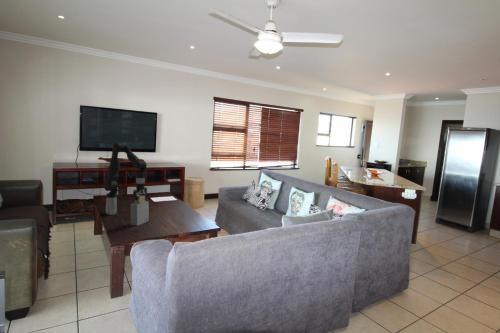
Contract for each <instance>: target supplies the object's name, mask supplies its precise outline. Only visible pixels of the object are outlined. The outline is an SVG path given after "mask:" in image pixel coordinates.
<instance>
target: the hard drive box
mask: <svg viewBox="0 0 500 333" xmlns="http://www.w3.org/2000/svg"><path fill="white" fill-rule="evenodd" d="M149 205H150V204H149V201H148V200H145V202H144V203H141V204H139V203H135V202H133V203H130V225H131V226H135V227H138V226H141V225H143V224H145V223H147V222H149V220H150V219H149V217H150V216H149V214H150V213H149V212H150V211H149V208H150V207H149Z"/></svg>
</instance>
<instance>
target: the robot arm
mask: <svg viewBox="0 0 500 333" xmlns="http://www.w3.org/2000/svg"><path fill="white" fill-rule="evenodd" d="M111 150H112V151H111V157H110V162H109V167H108V172H107V175H106V179H105V182H104V185H103V187H104V190H105V191H106V192H108V193H106V197H105V198H106V199H105V201H106V203H105V214H106V215H108V216H109V215H111V216H113V215H116V214H117V213H118V212H117V210H118V209H117V202H118V201H117V200H118V199H117V197H118V196H117V195H118V189H119V188H118V182H117V181H116V180H113V179H114V178H115V177H116V176H117V175H118V173H119V171H120V169H121V163H120V160H119V153H125V154H126V158H127V159H128V160H129V162H131V163H132V165H133V167H134V168H135V169H136V170H137V169H138V171H136V173H135V174H136V176H135V177H136V178H135V189H133V190H132V191H133V192H132V193H133V194H132V196H133V197H134V199H135V200H136V201H137V200H138V197H137V196H138V195H141V194H142V195H143V196H145V197H146V195H147V194H148V188H147V187H146V186H145V180H146V179H145V173H146V169H147V166H148V164H147V162H146V161H145V160H140V158H139V157H138V156H137V155H136V154H135V153H134V152H133V151H132V150H131V149H130V148H129V145H127V144H126V143H125V142H119V141H118V142H114V143H113V146H112V149H111ZM135 200H134V201H135Z"/></svg>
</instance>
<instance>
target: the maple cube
mask: <svg viewBox="0 0 500 333" xmlns="http://www.w3.org/2000/svg"><path fill="white" fill-rule="evenodd" d="M137 197H138V200H137V201H136V200H134V203H139V204H141V203H144V202H145V201H146V195H145V196H143V194H142V195H141V194H139V195H138V196H137Z"/></svg>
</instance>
